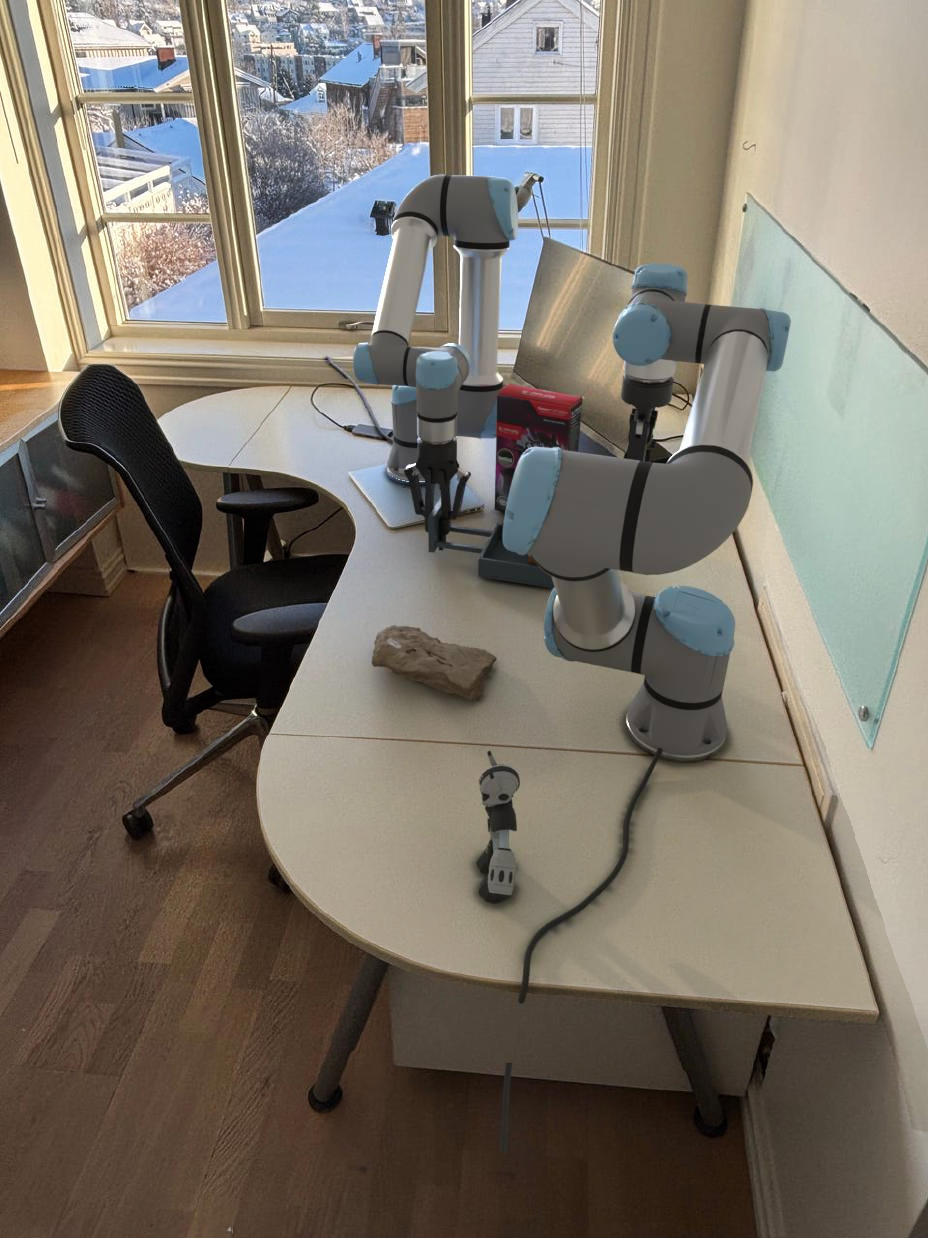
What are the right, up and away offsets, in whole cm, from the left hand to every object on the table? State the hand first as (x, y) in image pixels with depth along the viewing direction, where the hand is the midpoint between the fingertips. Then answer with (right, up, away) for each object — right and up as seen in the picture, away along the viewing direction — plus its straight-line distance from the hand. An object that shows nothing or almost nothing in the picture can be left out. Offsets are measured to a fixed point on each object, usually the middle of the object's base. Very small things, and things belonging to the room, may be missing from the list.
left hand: (437, 546), depth 187 cm
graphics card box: (+21, +8, +16) cm, 28 cm away
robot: (+9, -48, -68) cm, 84 cm away
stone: (-1, -24, -32) cm, 40 cm away
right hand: (+33, +4, -38) cm, 50 cm away
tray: (+12, -3, -2) cm, 13 cm away
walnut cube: (+20, -6, -8) cm, 23 cm away
